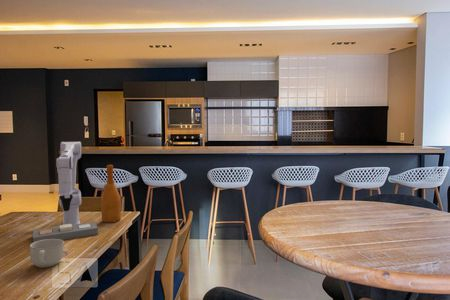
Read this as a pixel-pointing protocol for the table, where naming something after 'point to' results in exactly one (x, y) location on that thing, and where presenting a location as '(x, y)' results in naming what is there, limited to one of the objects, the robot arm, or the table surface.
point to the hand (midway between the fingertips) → (66, 210)
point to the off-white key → (65, 227)
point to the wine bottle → (110, 199)
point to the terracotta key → (45, 231)
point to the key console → (66, 232)
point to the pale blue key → (84, 226)
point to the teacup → (46, 252)
